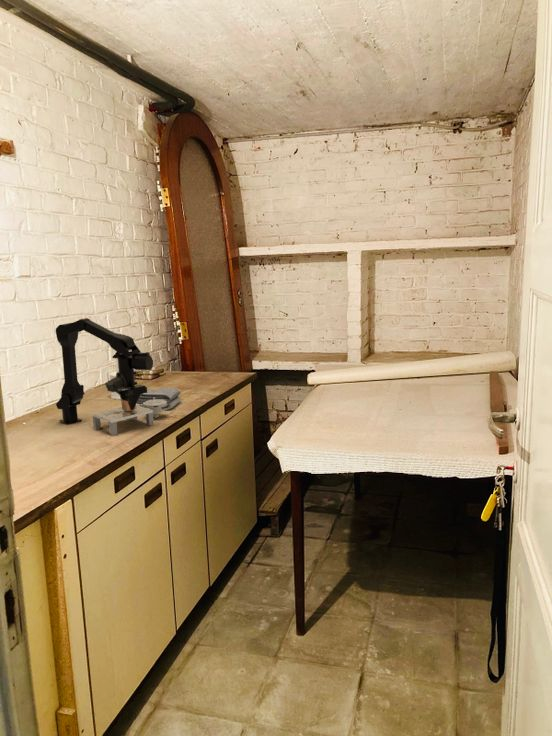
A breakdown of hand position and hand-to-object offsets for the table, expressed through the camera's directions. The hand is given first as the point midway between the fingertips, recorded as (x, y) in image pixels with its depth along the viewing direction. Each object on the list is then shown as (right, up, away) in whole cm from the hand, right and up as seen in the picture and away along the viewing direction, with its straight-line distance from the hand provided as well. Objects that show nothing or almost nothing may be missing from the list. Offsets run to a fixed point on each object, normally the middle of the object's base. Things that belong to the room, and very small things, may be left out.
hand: (129, 408), depth 221 cm
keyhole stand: (-2, -7, -1) cm, 7 cm away
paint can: (-17, +2, +48) cm, 51 cm away
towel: (+5, -1, +29) cm, 29 cm away
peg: (0, -4, +1) cm, 4 cm away
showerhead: (+8, -4, +12) cm, 15 cm away
